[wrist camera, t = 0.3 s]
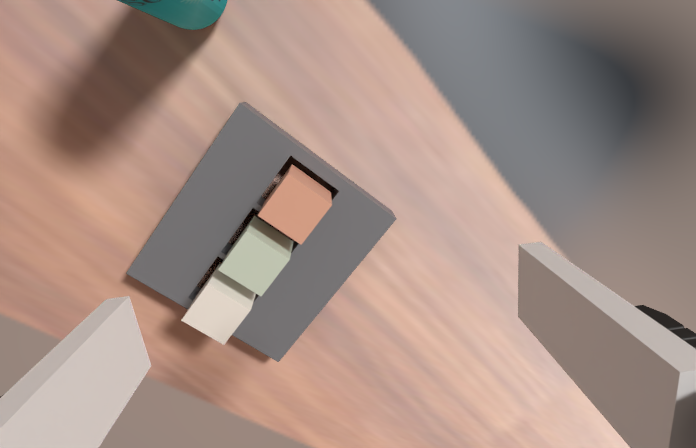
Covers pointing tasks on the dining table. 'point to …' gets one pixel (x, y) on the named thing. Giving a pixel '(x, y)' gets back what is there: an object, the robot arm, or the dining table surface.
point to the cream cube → (219, 307)
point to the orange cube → (296, 205)
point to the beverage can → (182, 11)
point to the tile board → (246, 193)
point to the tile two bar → (257, 256)
